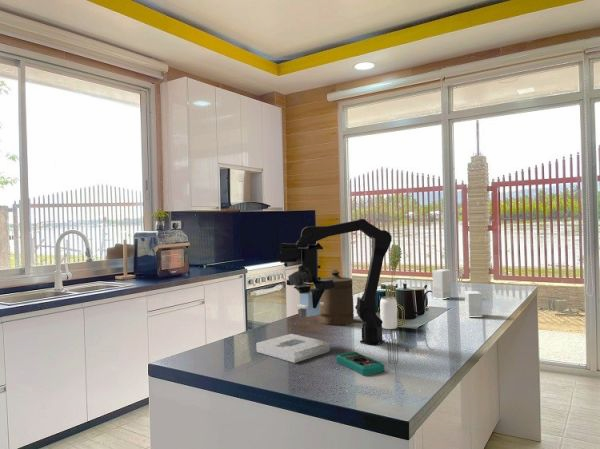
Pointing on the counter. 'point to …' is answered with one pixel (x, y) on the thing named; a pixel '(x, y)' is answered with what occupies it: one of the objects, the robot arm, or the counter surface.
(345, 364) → the digital multimeter
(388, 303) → the can
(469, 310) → the small box
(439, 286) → the skincare box
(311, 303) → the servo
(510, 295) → the counter surface
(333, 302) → the wooden container
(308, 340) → the white flat slab
